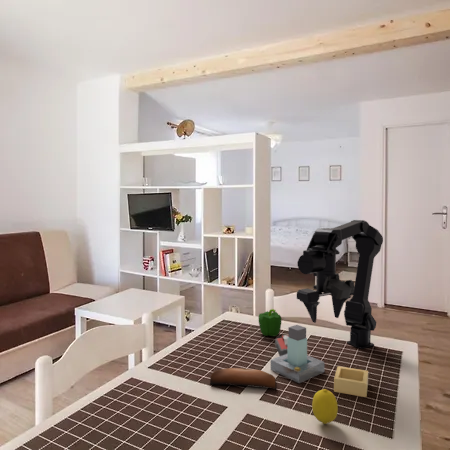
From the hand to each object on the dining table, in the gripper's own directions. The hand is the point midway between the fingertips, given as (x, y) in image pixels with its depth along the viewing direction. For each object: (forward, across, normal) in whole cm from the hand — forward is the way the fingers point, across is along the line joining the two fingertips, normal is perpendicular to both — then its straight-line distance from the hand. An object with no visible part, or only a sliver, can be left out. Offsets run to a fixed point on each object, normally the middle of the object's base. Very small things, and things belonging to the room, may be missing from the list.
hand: (325, 319), depth 119 cm
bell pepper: (+13, -1, +28) cm, 31 cm away
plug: (+13, -12, -1) cm, 18 cm away
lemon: (+13, -24, -25) cm, 37 cm away
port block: (+13, -12, -1) cm, 18 cm away
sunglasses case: (+14, -29, +2) cm, 32 cm away
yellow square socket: (+13, -6, -16) cm, 21 cm away
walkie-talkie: (+14, -3, +14) cm, 20 cm away
